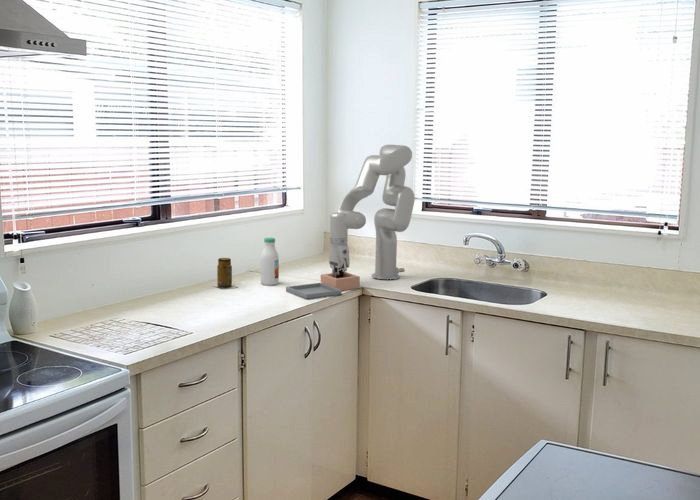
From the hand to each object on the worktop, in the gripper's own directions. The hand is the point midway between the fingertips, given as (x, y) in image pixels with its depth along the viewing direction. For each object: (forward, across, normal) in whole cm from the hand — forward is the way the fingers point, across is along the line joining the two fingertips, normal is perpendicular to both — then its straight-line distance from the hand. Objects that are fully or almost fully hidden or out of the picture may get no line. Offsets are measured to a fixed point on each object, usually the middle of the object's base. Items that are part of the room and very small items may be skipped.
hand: (338, 282), depth 331 cm
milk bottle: (+1, +16, +25) cm, 30 cm away
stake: (+1, -5, +6) cm, 8 cm away
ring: (+1, -5, +2) cm, 6 cm away
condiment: (+1, +20, +44) cm, 48 cm away
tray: (+1, -9, +18) cm, 20 cm away
